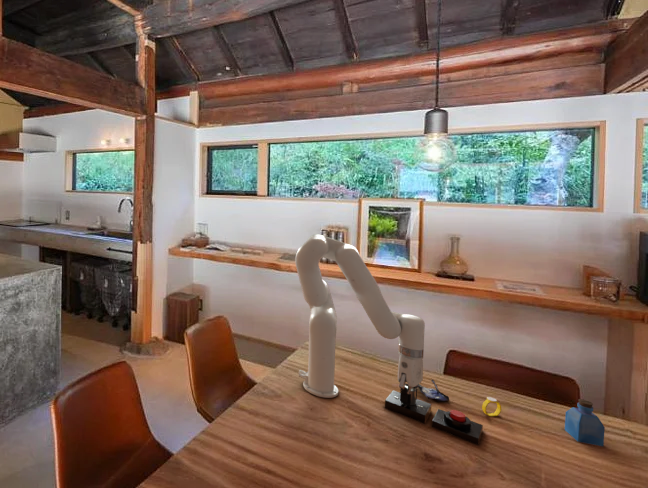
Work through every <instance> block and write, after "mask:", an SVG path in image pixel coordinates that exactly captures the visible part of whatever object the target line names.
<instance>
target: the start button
mask: <svg viewBox="0 0 648 488" xmlns="http://www.w3.org/2000/svg"><path fill="white" fill-rule="evenodd" d="M449 411H450V417H451V418H452V419H454V420H457V421H460V422H465V416H466V414H465V413H463V412H462V411H460V410H456V409H451V410H449Z"/></svg>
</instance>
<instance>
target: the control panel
mask: <svg viewBox="0 0 648 488" xmlns="http://www.w3.org/2000/svg"><path fill="white" fill-rule="evenodd" d="M384 409H386V410H388V411H391V412H393V413H396V414H399V415H401V416H404V417H406V418H409V419H411V420H413V421H416V422H419V423H421V424H424V425H425V424H426V422H427V421H428V419H429V417H430V416H431V413H432V403H430V402H427V401H425V400H421V399H419V398H417V400H416V404H415V405H407V404H405V403H403V402H401V401H400V391H396V390H394V389H393V390H392V391H391V392H390V393H389V395H388V396H387V397H386V398H385V400H384Z"/></svg>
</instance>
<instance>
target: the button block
mask: <svg viewBox="0 0 648 488" xmlns="http://www.w3.org/2000/svg"><path fill="white" fill-rule="evenodd" d="M450 411H451V410H446V411H445V410H443V409H440V408H438V409H437V410H436V413H435V415H434V416H433V418H432V420H431V427H432V428H434V429H436V430H439V431H441V432H444V433H446V434H449V435H452V436H454V437H456V438H459V439H462V440H464V441H467V442H468V443H472V444H474V445H477V446H479V444H480V440H481V437H482V435H483V430H484V429H483V428H484V425H483V424H482V423H479V422H476V421H473V420H471V419H470V418H469V417H468V416H466V415H465V422H460V421H457V420H454V419H452V418H451V417H450Z"/></svg>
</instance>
